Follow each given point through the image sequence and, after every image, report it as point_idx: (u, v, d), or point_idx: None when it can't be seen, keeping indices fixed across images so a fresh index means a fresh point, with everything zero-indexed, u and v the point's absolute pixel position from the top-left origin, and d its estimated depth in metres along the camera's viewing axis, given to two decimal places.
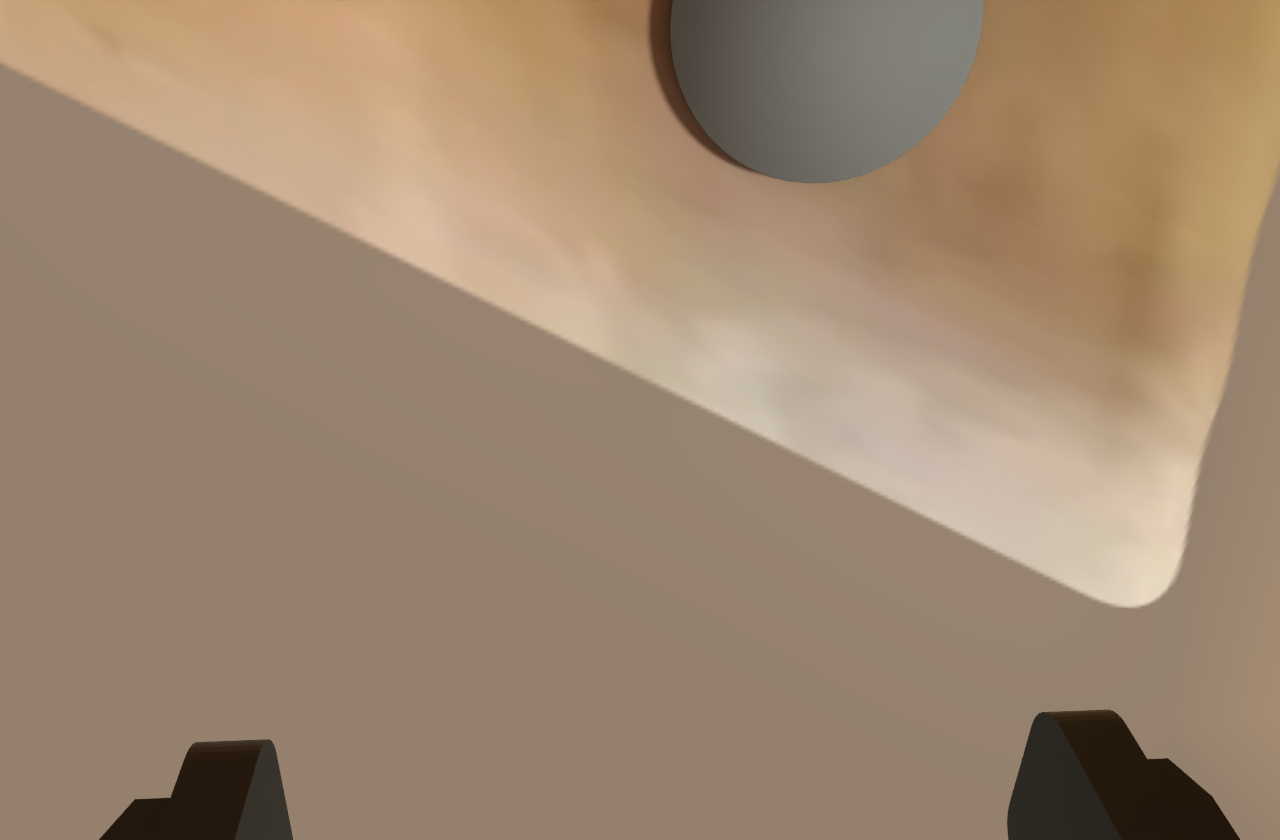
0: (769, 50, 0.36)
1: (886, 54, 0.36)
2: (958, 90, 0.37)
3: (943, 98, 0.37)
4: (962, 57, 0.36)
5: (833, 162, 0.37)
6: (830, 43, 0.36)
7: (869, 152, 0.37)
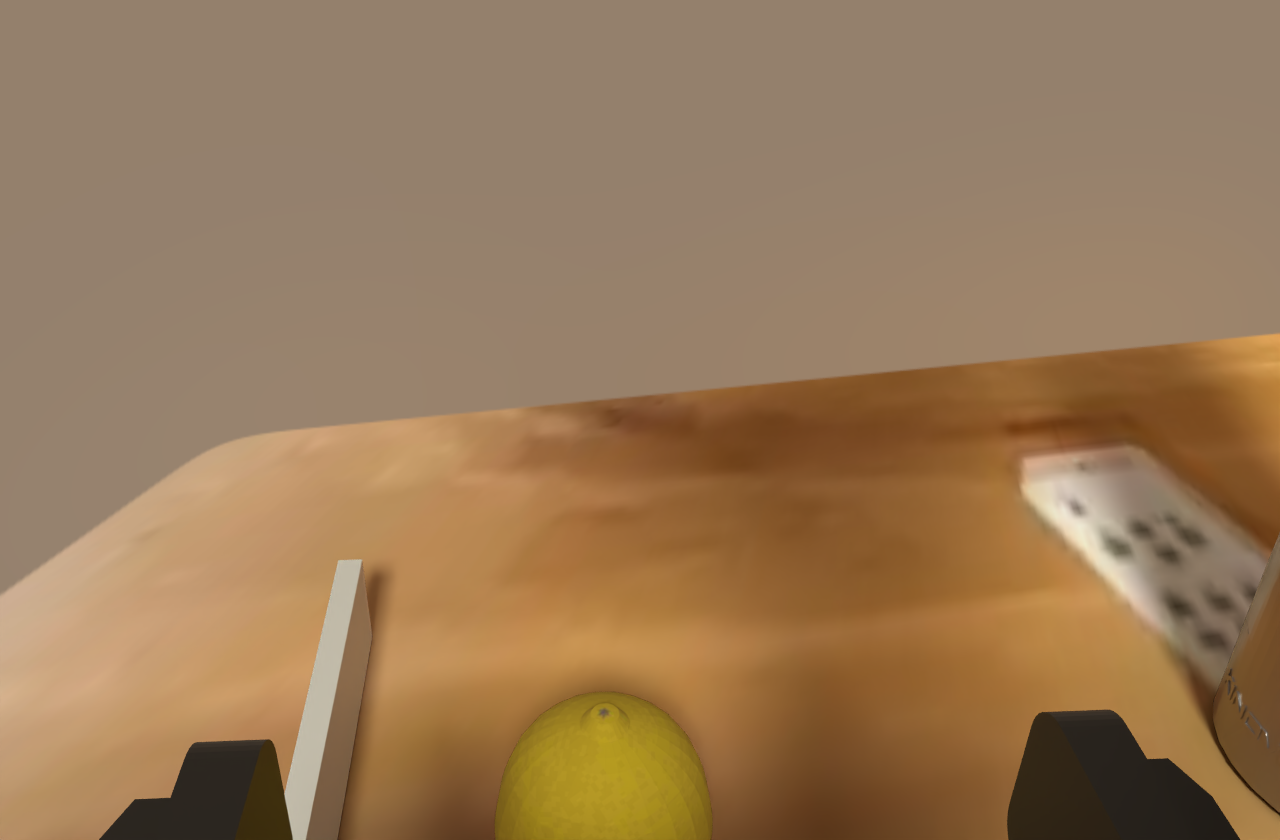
0: None
1: None
2: None
3: None
4: None
5: None
6: None
7: None
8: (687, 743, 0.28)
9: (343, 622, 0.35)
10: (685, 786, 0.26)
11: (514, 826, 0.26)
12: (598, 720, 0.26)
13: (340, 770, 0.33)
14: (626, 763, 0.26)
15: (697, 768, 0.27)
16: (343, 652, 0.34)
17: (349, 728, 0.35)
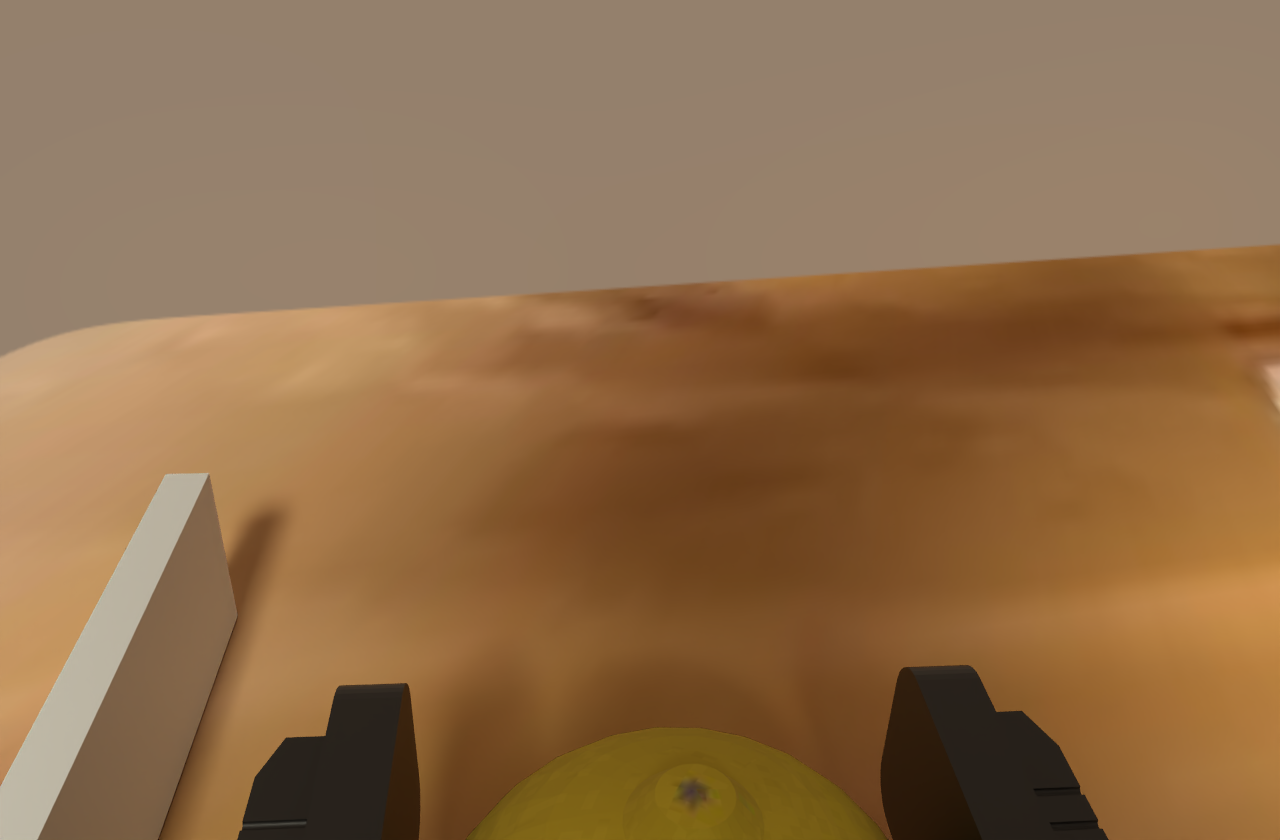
0: None
1: None
2: None
3: None
4: None
5: None
6: None
7: None
8: None
9: (148, 580, 0.18)
10: None
11: None
12: (678, 816, 0.09)
13: None
14: None
15: None
16: (133, 636, 0.17)
17: (151, 787, 0.18)
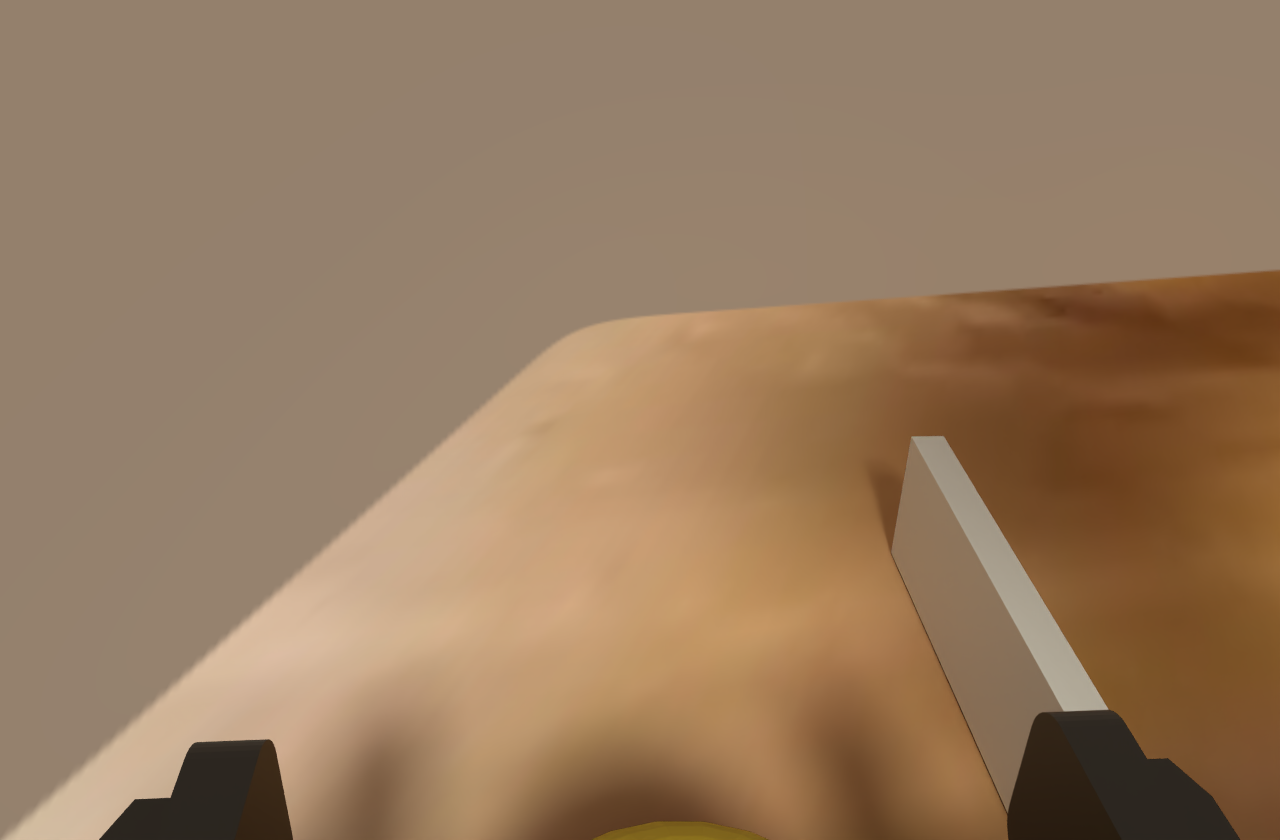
0: None
1: None
2: None
3: None
4: None
5: None
6: None
7: None
8: None
9: (982, 512, 0.24)
10: None
11: None
12: None
13: None
14: None
15: None
16: (1011, 552, 0.23)
17: None
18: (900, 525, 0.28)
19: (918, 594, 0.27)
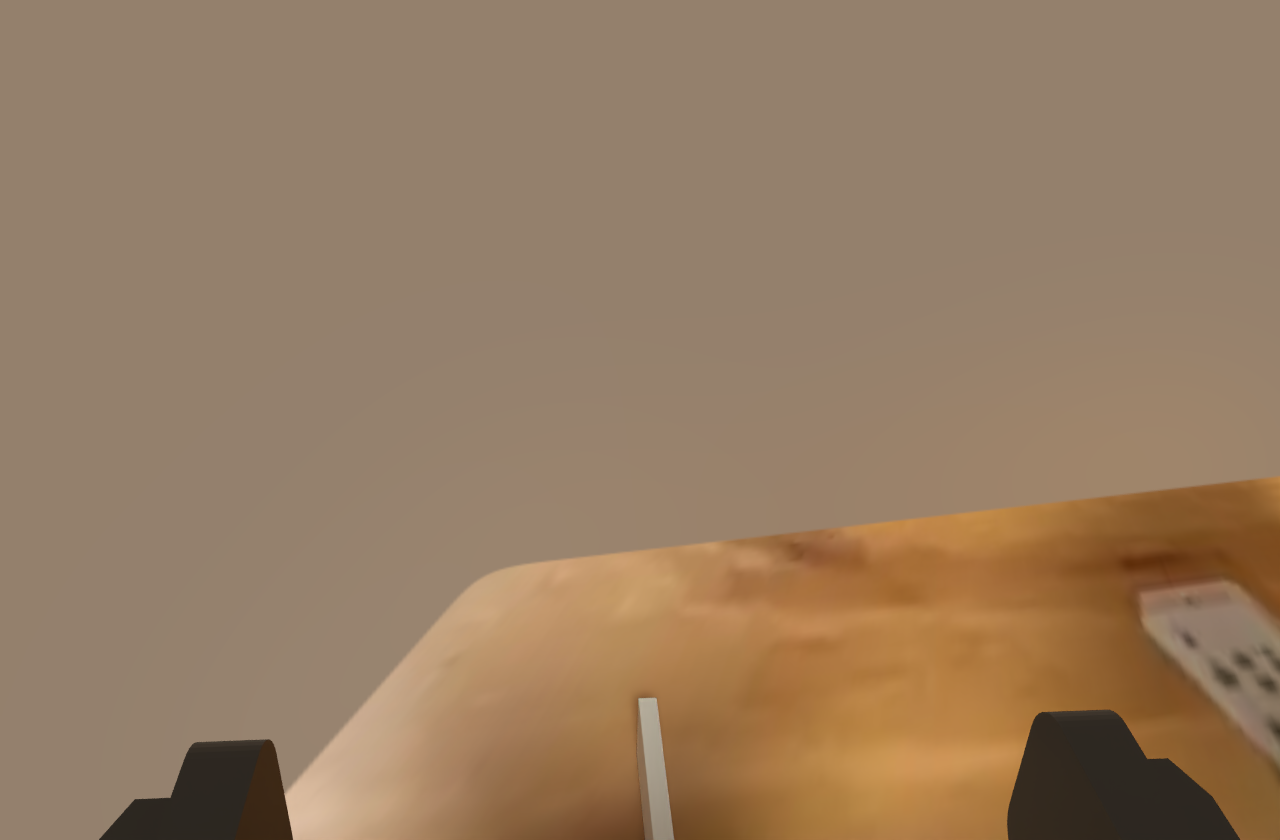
0: None
1: None
2: None
3: None
4: None
5: None
6: None
7: None
8: None
9: (659, 752, 0.47)
10: None
11: None
12: None
13: None
14: None
15: None
16: None
17: None
18: (637, 742, 0.51)
19: (640, 785, 0.49)
